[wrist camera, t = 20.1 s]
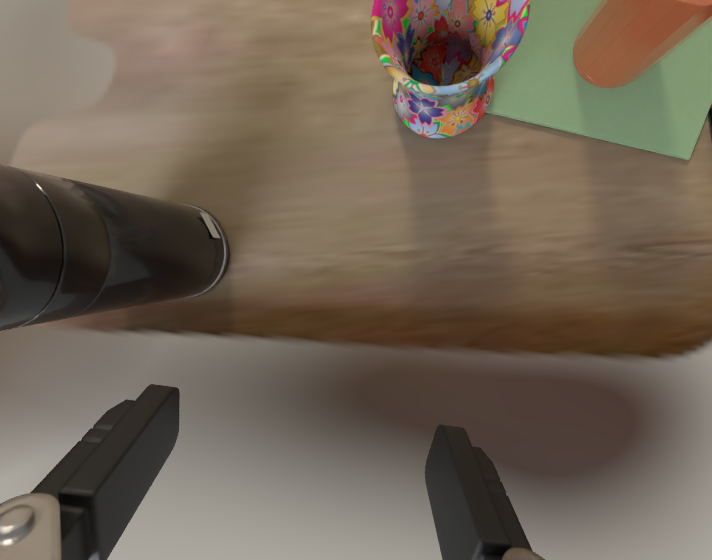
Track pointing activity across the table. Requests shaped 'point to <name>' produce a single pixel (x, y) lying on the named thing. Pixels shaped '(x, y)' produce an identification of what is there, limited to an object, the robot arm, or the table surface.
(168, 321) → the table surface
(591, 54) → the pot
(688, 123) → the placemat
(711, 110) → the black stand
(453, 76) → the mug
